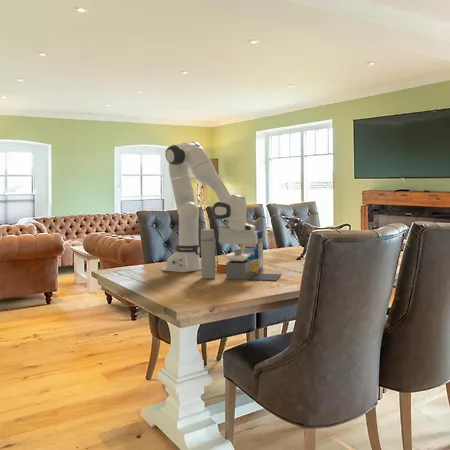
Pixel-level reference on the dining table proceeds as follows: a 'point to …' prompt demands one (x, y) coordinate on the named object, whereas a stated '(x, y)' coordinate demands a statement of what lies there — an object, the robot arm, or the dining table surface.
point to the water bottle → (208, 253)
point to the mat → (264, 277)
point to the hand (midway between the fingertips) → (238, 252)
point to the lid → (237, 255)
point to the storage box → (238, 269)
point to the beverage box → (255, 253)
